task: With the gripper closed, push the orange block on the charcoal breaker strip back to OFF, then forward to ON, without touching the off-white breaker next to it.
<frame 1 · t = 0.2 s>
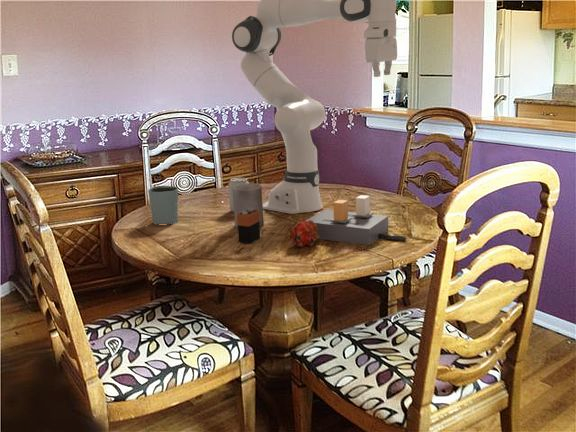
hand: (382, 75, 209), 48 cm above the table, fingers open, 8 cm apart
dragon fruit: (304, 246, 193), on the table
orange block: (340, 210, 198), point 9 cm above the table, slide at 4.0 cm
battery: (249, 241, 200), on the table
pillar candle: (249, 226, 216), on the table
breaker strip: (346, 233, 203), on the table
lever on: (362, 206, 203), point 9 cm above the table, slide at 8.0 cm
can: (240, 211, 236), on the table
grey bin: (166, 222, 225), on the table
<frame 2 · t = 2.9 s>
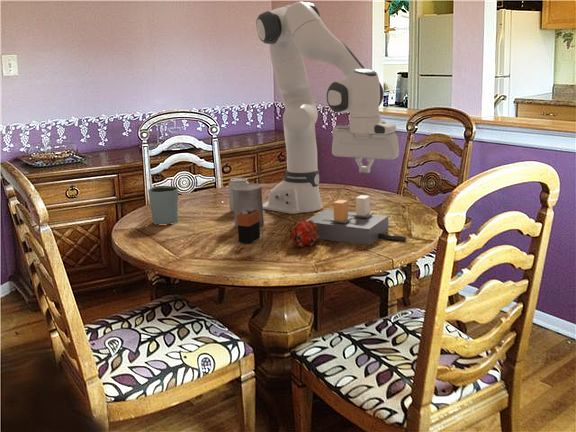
hand: (364, 172, 191), 21 cm above the table, fingers closed
nothing on the table moved.
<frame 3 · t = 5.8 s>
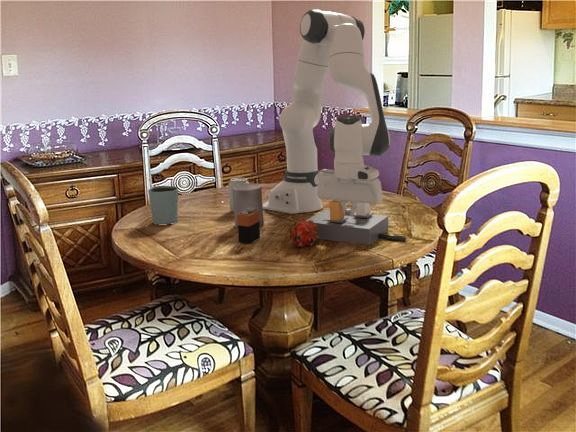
hand: (349, 215, 197), 7 cm above the table, fingers closed
orange block: (337, 210, 198), point 9 cm above the table, slide at 2.7 cm, touching gripper
everything else where it was.
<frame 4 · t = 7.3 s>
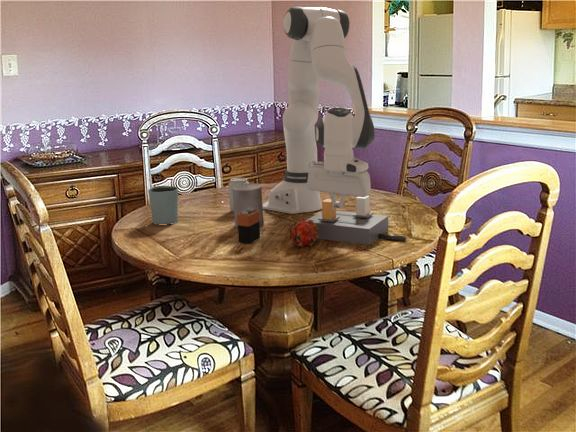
hand: (337, 207, 197), 10 cm above the table, fingers closed
orange block: (329, 209, 200), point 8 cm above the table, slide at 0.0 cm
everything else where it was.
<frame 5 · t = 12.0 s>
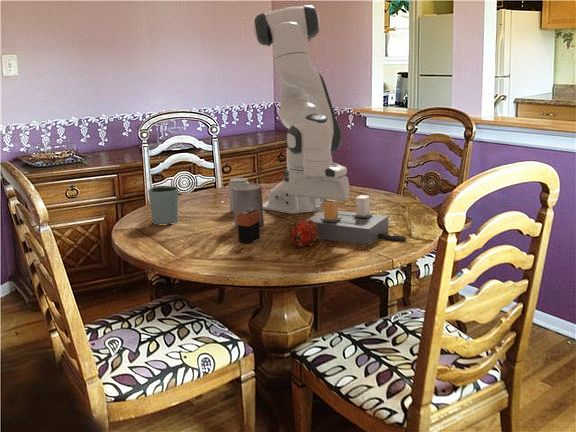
hand: (318, 211, 201), 8 cm above the table, fingers closed
orange block: (331, 209, 199), point 9 cm above the table, slide at 0.7 cm, touching gripper
everything else where it was.
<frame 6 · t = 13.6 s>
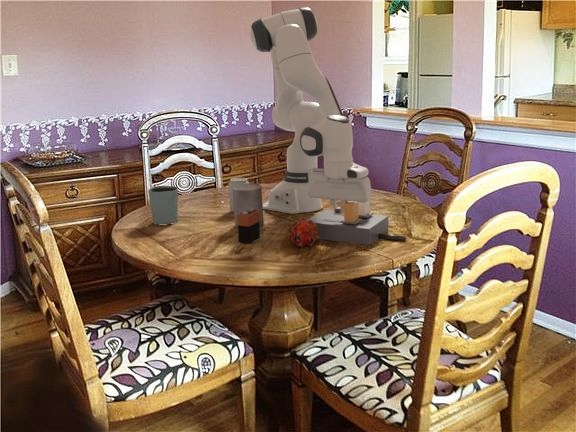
hand: (339, 213, 198), 8 cm above the table, fingers closed
orange block: (351, 212, 196), point 9 cm above the table, slide at 7.5 cm, touching gripper
everything else where it was.
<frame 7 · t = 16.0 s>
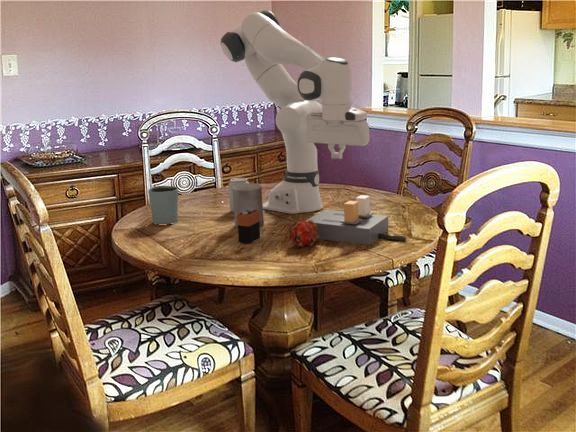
hand: (336, 158, 197), 24 cm above the table, fingers closed
orange block: (351, 212, 196), point 9 cm above the table, slide at 7.5 cm
everything else where it was.
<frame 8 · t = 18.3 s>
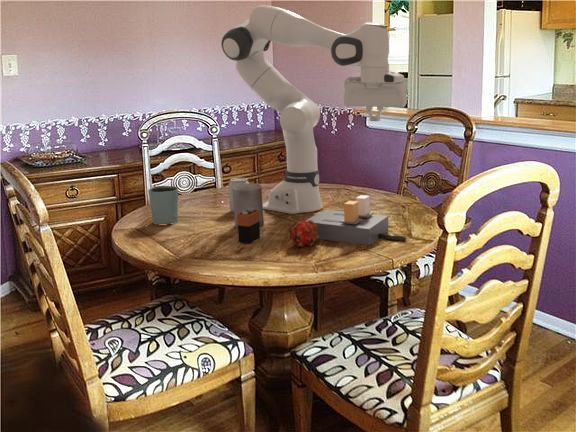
hand: (374, 121, 204), 34 cm above the table, fingers closed
nothing on the table moved.
at the end: orange block slide at 7.5 cm; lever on slide at 8.0 cm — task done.
